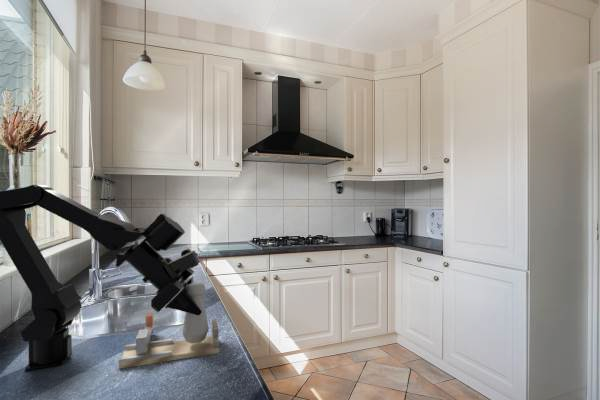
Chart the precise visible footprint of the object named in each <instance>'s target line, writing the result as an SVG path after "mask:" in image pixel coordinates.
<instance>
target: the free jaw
mask: <svg viewBox="0 0 600 400" xmlns="http://www.w3.org/2000/svg"><path fill="white" fill-rule="evenodd" d="M154 319H155V314H154V312H149V313H146V315H145V325H144V329H143V328H142V329H139V330H138V331H137V332H138V333H137V334H136V337H135V344H136V356H138V355H144V354H147V352H148V349H149V342H150V338H151V334H153V333H154V330H155V328H154V327H155V326H154V325H155V322H154Z"/></svg>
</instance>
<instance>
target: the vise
mask: <svg viewBox="0 0 600 400" xmlns="http://www.w3.org/2000/svg"><path fill="white" fill-rule="evenodd" d="M217 320H218V319H217V318H213V319H211V334H212V335H211V336H206V338H205V339H204V340H203V341H202V342H200V343H193V344H191V343H188V342H186V340H185V339H184V340H178V341H174V338H168V339H159V340H154V341H149V349H148V352H147V354H144V355H138V356H136V343H131V344H126V345H125V346H124V352H123V353H122V354H123V355H122V356H121V357H120V358H119V359H118V369H126V368H132V367H139V366H145V365H151V364H156V363H164V362H169V361H176V360H183V359H188V358H194V357H202V356H207V355H208V356H209V355H213V354H214V355H215V354H219V349H220V347H219V327H218V326H219V325H218V321H217Z"/></svg>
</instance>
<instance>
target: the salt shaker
mask: <svg viewBox="0 0 600 400" xmlns="http://www.w3.org/2000/svg"><path fill="white" fill-rule="evenodd" d="M205 293H206V285H205V284H204V283H203V282H193V283H192V284H189V285H188V294H189V295H190V297H191V298H192V299H193V300H194V302H195V303H196V304H197V305H198V307H199V308H200V309H201V311H202V313H201V314H200V315H195V314H191V313H188V312H185V316H184V321H183V325H182V330H181V331H182V335H183V338H184V340H186V342H188V343H191V344H193V343H200V342H202V341H203V340H204V339H205V338H206V337H207V334H208V332H209V330H210V329H209V322H208V318H207V312H206V305H205V300H204V299H205V298H204V294H205Z"/></svg>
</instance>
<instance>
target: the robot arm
mask: <svg viewBox="0 0 600 400" xmlns="http://www.w3.org/2000/svg"><path fill="white" fill-rule="evenodd" d="M37 206H38V207H39V208H42V209H43V210H46V211H47V212H50V213H52V214H54V215H56V216H57V217H59V218H62V219H63V220H65V221H67V222H70V224H71V223H72V224H73V225H75V226H77V227H79V228H81V229H83V230H85V231H86V232H87V233H88V234H89V235H90V236H91V237H92V238H93V240H94V241H96V242H97V243H98V244H100V245H101V246H102V247H104V248H105V249H107V250H111V251H117V250H121V249H123V248H125V247H128V249H126V250H125V251H124V252H119V253H117V254H116V255H115V258H116V261H115V267H117V268H119V267H120V266H123V265H125V264H126V263H128V264H129V265H130V266H131V268H133V269H134V270H135V271H136V272H137V273H139V275H141V276H142V279H141V280H142V282H144V283H145V284H146V283H147V282H148V283H149V284H151V285H152V286H153V287H154V288H155V289H156V292H155V293H156V294H155V295H154V297H153V298H152V299H150V300H151V301H150V302H151V303H150V307H151V308H152V309H153V310H154V311H155V312H156V313H160V311H161V310H162V309H163V308H165V309H173V310H177V311H181V312H184V313H186V312H188V313H191V314H195V315H200V314H201V313H202V311H201V309H200V308H199V307H198V305H197V304H196V303H195V302H194V300H193V299H192V298H191V297H190V295H189V294H188V285H189V284H192V283H194V281H193V280H194V277H193V276H192V275H193V274H194V273H195V271H194V269H193V268H195V267H197V266H198V265H199V264H200V263H201V261H200V259H199V257H198V255H199V254H198V253H197V252H196V251H195V250H191V249H190V248H186V249H184V250H182V251H181V253H180V256H178V258H175V259H173V260H172V259H171V258H170V257H163V256H162V254H160V253H159V252H160V251H161V250H163V251H167V250H169V249H170V248H171V247H172V246H173V245H174V244H175V243H176V242H177V241H178V240H179V239H180V238H181V237H182V236H183V235H185V233H186V232H185V230H184V228H183V226H181V225H180V223H178V222H177V221H175V220H173V219H172V218H171V217H168V216H167V215H166V213H160V214H159V215H158V216H157V217H156V218H155V219H154V221H153V222H152V223H151V224H149V226H147V227H146V228H144V227H143V228H141V227H135V225H133V223H131V222H128V221H125V220H122V219H118V218H115V217H111V216H106V215H105V214H100V213H99V212H97V211H95V210H92V209H91V208H89V207H87V206H85V205H83V204H81V203H79V202H78V201H75V200H73V199H72V198H70V197H68V196H66V195H64V194H62V193H61V192H58V191H56V190H54V188H52V187H51V186H49V185H42V184H31V185H28V186H25V187H19V188H12V189H6V190H1V191H0V243H1V245H2V246H3V248H4V249H5V251H6V252H7V255H8V256H9V258H10V260H11V261H12V263H13V265H14V266H15V268H16V270H17V271H18V273H19V274H20V277H21V278H22V280H23V282H24V283H25V286H26V287H27V288H28V290H29V292H30V294H31V304H30V311H31V313H32V316H33V320H31V322H30V323H29V324H28V325H27V326H25V327H24V328H23V329H22V330H21V331H20V335H21V337H22V340H23V342H28V364H26V365H25V366H24V371H30V370H37V369H44V368H50V367H51V368H52V367H59V366H62V365H63V364H64V362H65V361H66V360H67V359H68V358H69V357H70V355H71V354H72V352H73V350H72V348H73V347H72V346H73V345H72V344H73V343H72V342H73V341H72V334H70V331H69V330H70V329H69V327H70V326H71V325H72V324H73V322H74V319H75V318H76V317H78V315H79V314H80V312H81V310H82V309H81V308H82V302H81V300H82V299H83V297H82V296H80V295H79V294H78V292H77V289H76V287H75V285H74V284H73V283H70V284H68V285H64V284H63V283H61V282H59V280H57V278H56V276H55V274H54V273H53V271H52V268H51V267H50V265H49V264H48V262H47V261H46V259H45V257H44V256H43V254H42V251H41V250H40V248H39V247H38V245H37V243H36V242H35V240H34V238H33V236H32V235H31V233H30V231H29V230H28V228H27V226H26V218H27V212H26V209H31V208H34V207H37ZM140 240H142V241H141V242H140V243H139V244H134V243H135V242H136V241H140ZM158 251H159V252H158ZM191 276H192V277H191ZM188 278H189V279H188Z"/></svg>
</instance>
